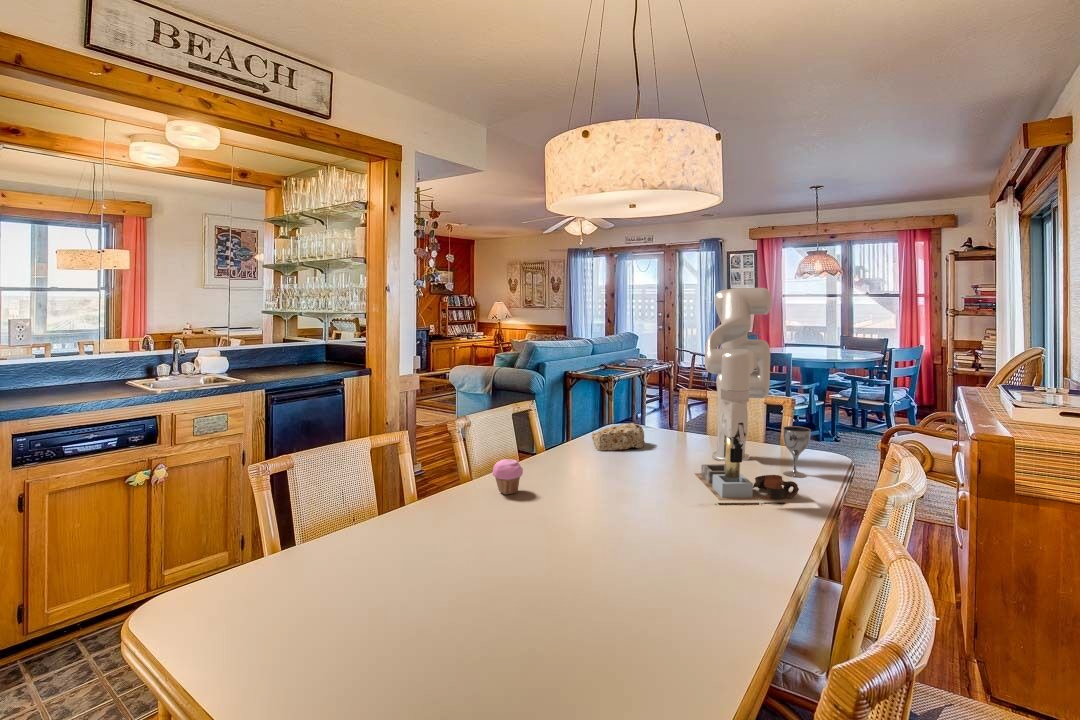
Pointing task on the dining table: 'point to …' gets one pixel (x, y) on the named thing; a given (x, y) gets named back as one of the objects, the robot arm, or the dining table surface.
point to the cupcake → (507, 475)
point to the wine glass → (796, 445)
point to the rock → (619, 437)
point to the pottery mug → (776, 488)
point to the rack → (732, 486)
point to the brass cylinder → (731, 468)
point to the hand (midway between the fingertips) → (732, 459)
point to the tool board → (707, 479)
